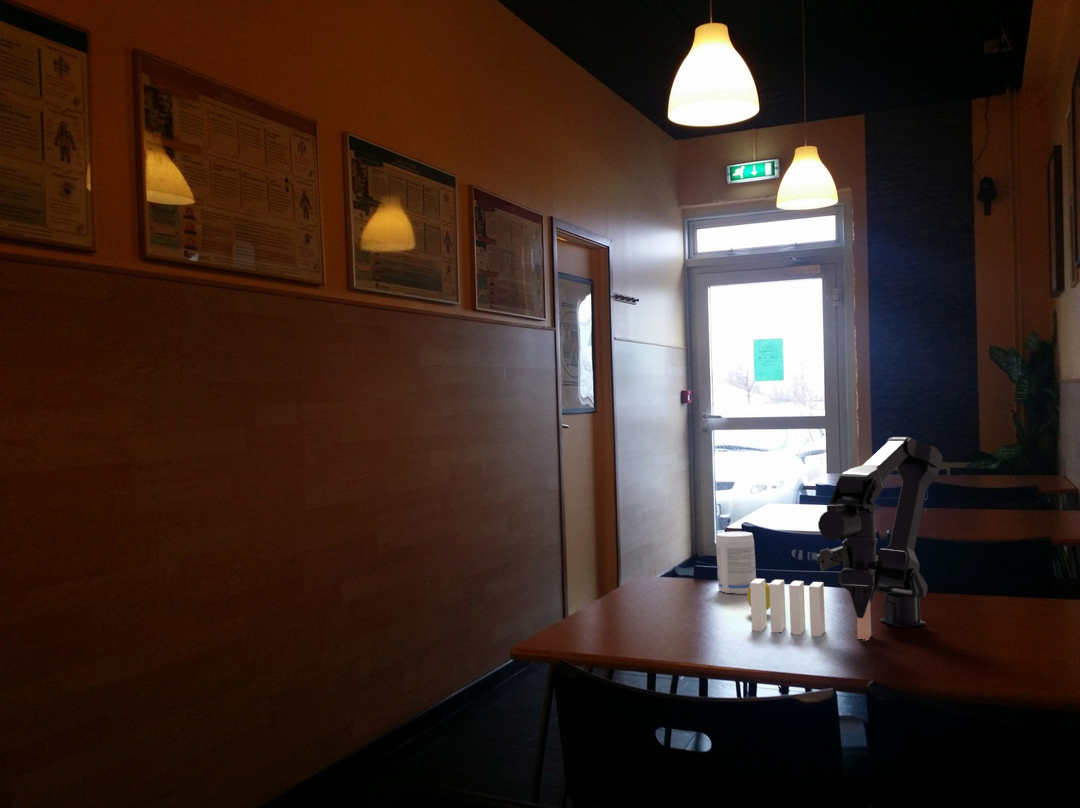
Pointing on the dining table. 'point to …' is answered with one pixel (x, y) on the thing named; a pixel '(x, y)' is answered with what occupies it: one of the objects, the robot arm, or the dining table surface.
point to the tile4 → (777, 605)
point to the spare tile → (864, 625)
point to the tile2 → (817, 608)
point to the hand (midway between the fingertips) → (863, 612)
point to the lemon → (766, 596)
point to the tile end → (758, 604)
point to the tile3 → (797, 607)
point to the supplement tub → (735, 561)
